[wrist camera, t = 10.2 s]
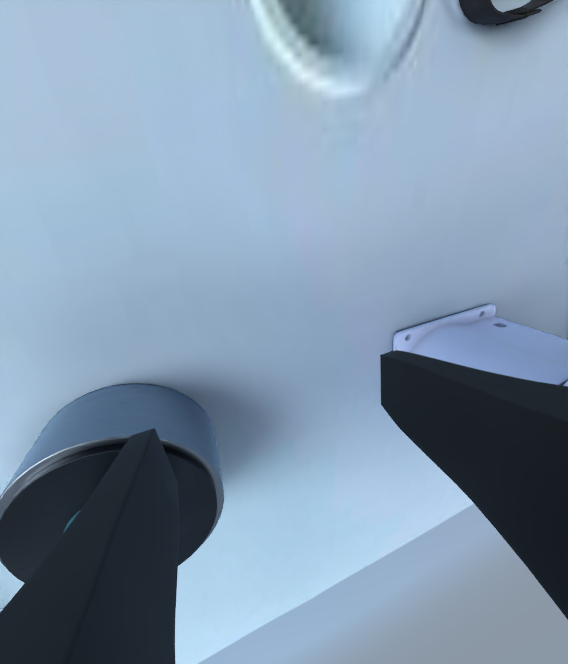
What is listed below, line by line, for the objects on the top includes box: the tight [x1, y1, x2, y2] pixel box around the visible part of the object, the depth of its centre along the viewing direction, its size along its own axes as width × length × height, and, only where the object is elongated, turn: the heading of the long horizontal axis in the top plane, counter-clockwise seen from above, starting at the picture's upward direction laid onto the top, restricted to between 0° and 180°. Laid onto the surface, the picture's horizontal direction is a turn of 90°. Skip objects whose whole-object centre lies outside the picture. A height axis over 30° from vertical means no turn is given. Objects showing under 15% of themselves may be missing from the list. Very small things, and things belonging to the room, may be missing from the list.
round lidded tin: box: [0, 384, 224, 583], centre depth 16 cm, size 10×10×5 cm
